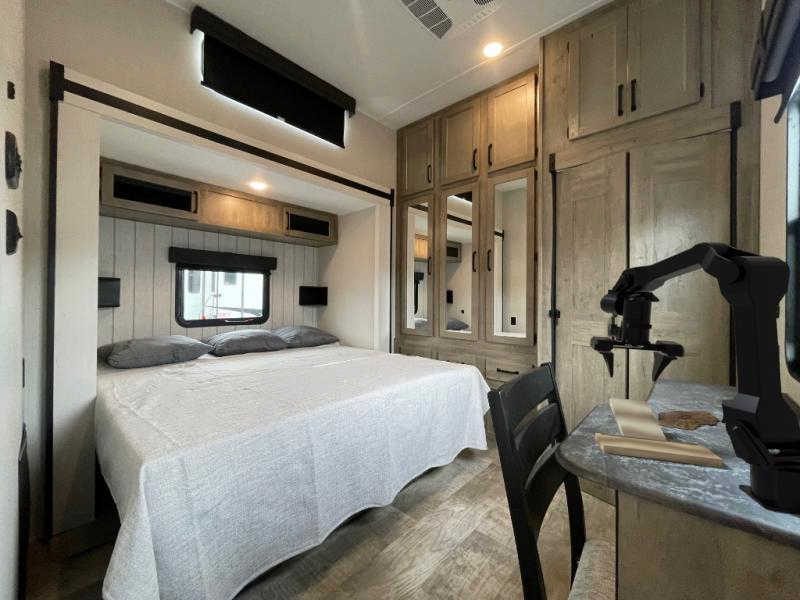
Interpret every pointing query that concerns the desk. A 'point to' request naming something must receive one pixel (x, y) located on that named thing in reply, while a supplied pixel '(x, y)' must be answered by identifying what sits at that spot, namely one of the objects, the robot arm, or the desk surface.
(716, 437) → the desk surface
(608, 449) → the oak floor board
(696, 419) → the wooden fragment
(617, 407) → the birch plank
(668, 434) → the desk surface
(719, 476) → the desk surface
